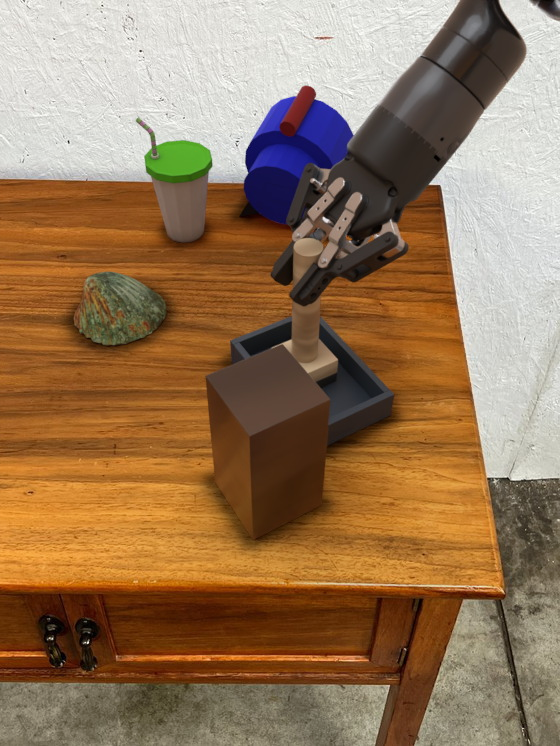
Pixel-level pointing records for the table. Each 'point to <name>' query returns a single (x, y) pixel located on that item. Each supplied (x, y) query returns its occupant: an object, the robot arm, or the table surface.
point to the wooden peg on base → (309, 321)
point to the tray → (347, 394)
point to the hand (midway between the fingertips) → (287, 291)
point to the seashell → (118, 309)
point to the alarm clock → (291, 152)
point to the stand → (268, 438)
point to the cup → (179, 184)
